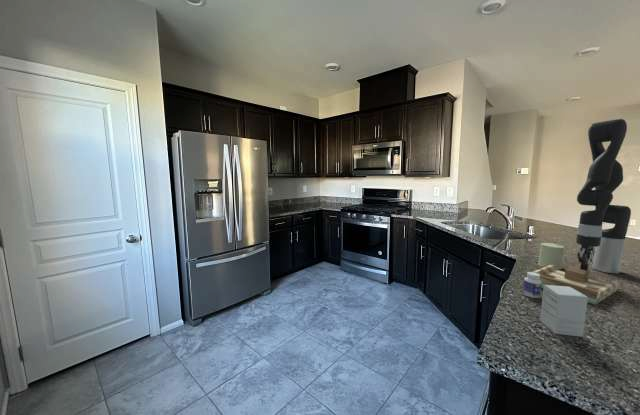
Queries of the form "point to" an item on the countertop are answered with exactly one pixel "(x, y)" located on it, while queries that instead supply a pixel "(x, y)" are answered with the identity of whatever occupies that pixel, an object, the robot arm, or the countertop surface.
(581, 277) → the block
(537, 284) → the pill bottle
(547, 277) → the board
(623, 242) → the robot arm
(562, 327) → the supplement box
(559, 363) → the countertop surface
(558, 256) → the can
